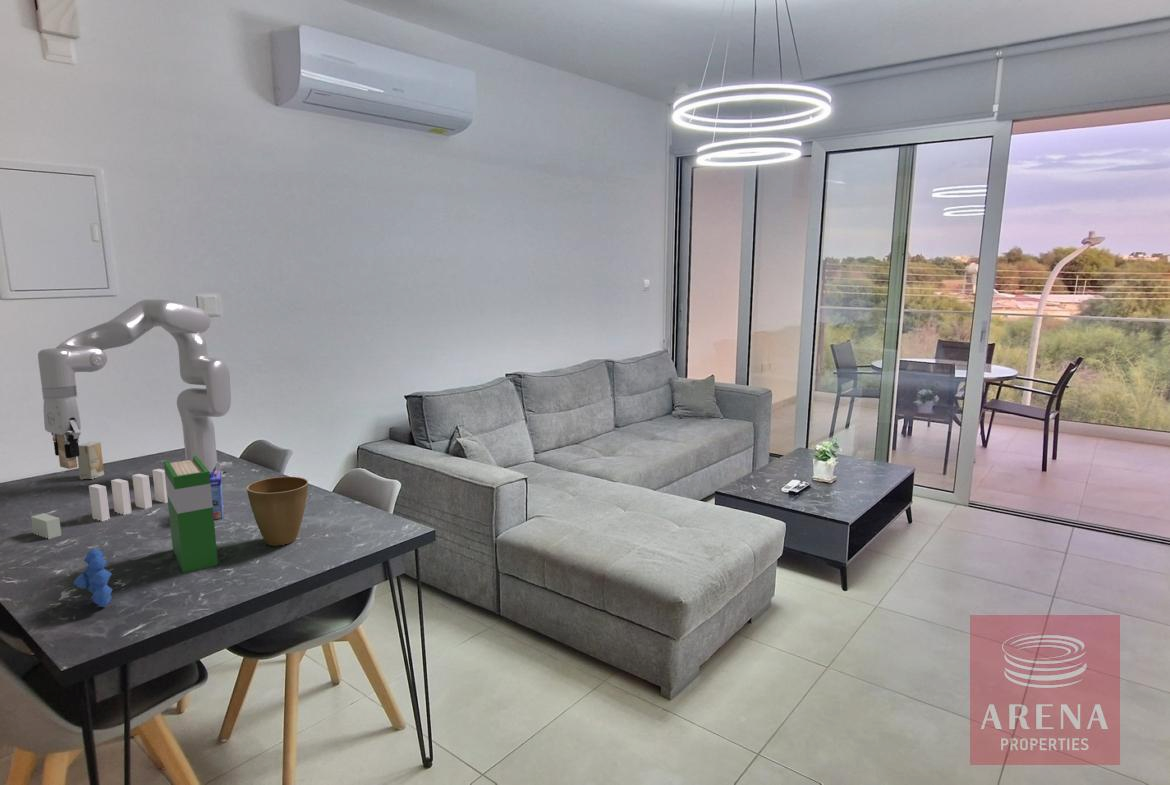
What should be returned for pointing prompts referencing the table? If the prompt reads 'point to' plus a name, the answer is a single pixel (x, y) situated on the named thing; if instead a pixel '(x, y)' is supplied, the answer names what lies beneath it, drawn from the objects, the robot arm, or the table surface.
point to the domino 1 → (64, 461)
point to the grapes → (96, 578)
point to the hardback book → (191, 514)
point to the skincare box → (90, 460)
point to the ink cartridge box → (217, 493)
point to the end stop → (46, 525)
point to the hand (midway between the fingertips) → (67, 455)
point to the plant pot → (278, 507)
